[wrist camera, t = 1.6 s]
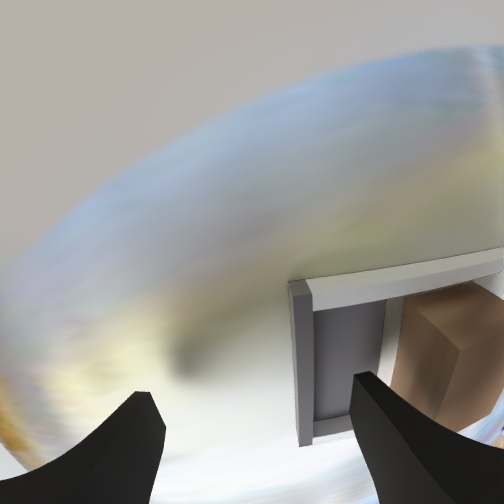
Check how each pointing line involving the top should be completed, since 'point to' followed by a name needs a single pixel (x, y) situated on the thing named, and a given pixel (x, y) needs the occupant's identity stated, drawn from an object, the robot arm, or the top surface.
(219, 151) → the top surface
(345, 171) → the top surface
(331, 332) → the channel
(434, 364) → the walnut block
